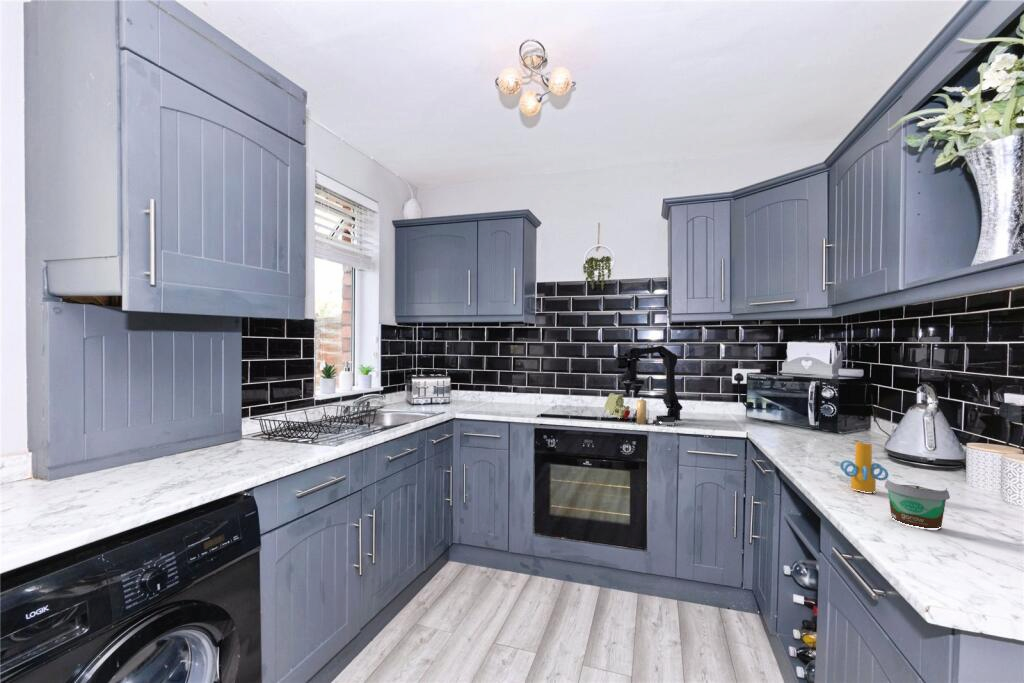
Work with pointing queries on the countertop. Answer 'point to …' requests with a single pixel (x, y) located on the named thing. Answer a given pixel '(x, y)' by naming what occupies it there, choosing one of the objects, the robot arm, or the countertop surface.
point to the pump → (641, 411)
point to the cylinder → (863, 468)
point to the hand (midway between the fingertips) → (631, 395)
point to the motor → (664, 420)
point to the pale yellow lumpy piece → (616, 406)
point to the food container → (917, 504)
